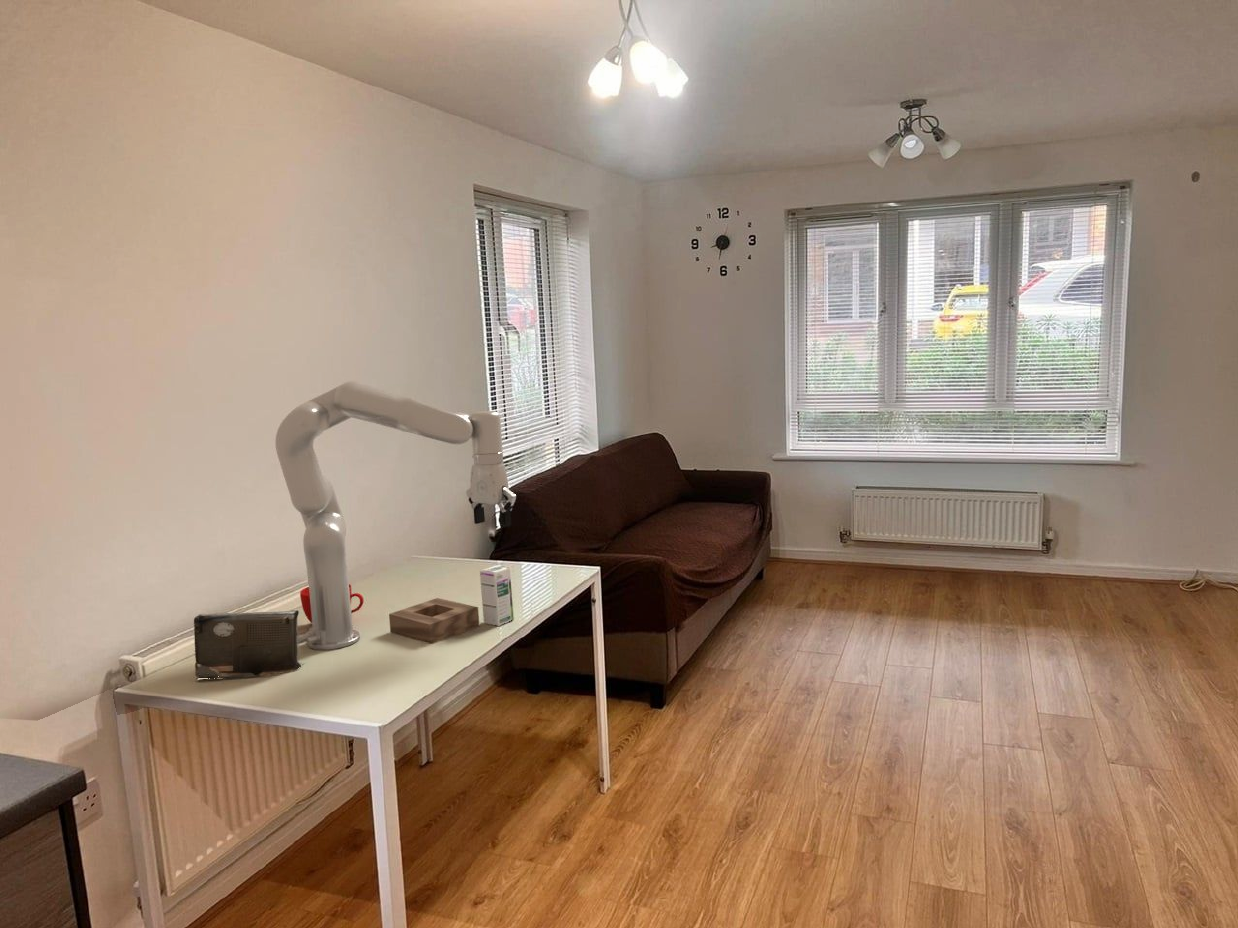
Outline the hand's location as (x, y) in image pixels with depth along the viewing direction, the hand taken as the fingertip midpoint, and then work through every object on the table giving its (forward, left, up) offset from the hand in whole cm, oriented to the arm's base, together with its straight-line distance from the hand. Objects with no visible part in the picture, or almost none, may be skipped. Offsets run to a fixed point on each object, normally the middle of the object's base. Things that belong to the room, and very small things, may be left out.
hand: (492, 524), depth 226 cm
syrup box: (0, 0, -26) cm, 26 cm away
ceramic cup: (-25, +36, -26) cm, 51 cm away
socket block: (-13, +10, -26) cm, 31 cm away
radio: (-56, +24, -26) cm, 66 cm away
